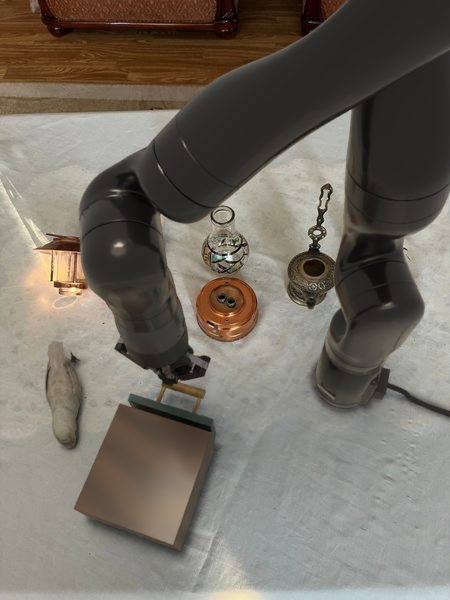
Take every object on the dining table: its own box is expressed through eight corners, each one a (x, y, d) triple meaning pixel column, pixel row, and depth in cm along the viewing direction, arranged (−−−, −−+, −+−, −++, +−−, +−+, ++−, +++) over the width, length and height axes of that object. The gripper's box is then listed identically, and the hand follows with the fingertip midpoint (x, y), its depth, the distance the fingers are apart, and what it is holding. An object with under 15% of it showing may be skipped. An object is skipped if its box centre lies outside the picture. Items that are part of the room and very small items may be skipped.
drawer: (150, 382, 89) (142, 364, 82) (225, 405, 86) (223, 388, 80) (102, 497, 80) (89, 487, 73) (184, 526, 77) (178, 519, 71)
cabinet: (131, 422, 86) (119, 403, 78) (215, 449, 84) (212, 432, 75) (91, 518, 79) (73, 509, 71) (181, 551, 77) (173, 545, 68)
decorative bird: (55, 452, 84) (39, 439, 78) (52, 362, 92) (37, 344, 86) (88, 445, 85) (75, 432, 78) (82, 356, 93) (70, 337, 86)
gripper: (84, 336, 59) (117, 389, 74) (195, 368, 56) (206, 417, 71) (112, 281, 62) (138, 343, 77) (217, 310, 60) (223, 368, 75)
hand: (170, 379), depth 74 cm, fingers closed
